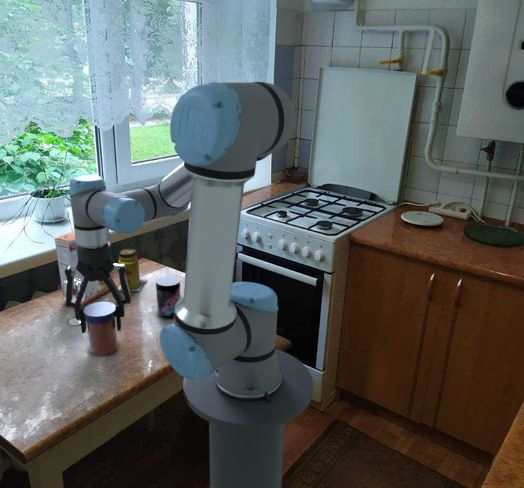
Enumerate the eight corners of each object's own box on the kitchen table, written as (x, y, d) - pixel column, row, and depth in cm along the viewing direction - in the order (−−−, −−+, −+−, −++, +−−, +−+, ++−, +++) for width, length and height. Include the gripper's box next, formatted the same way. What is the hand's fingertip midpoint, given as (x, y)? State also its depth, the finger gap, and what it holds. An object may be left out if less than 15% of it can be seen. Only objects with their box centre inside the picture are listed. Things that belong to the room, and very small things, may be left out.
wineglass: (93, 318, 138) (88, 279, 134) (77, 328, 133) (73, 288, 129) (77, 314, 140) (72, 275, 136) (61, 323, 135) (56, 283, 131)
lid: (118, 307, 126) (117, 300, 125) (115, 322, 118) (115, 315, 118) (86, 309, 124) (85, 302, 123) (81, 324, 117) (80, 317, 116)
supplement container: (156, 319, 139) (155, 286, 135) (157, 308, 145) (156, 276, 141) (181, 318, 140) (180, 285, 136) (181, 307, 146) (180, 275, 142)
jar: (122, 347, 125) (119, 310, 121) (100, 358, 120) (95, 320, 116) (107, 338, 129) (104, 302, 125) (84, 348, 124) (80, 311, 120)
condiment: (115, 290, 155) (112, 254, 151) (125, 279, 163) (122, 245, 159) (138, 291, 155) (136, 256, 150) (146, 280, 162) (144, 246, 158)
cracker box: (96, 286, 158) (90, 223, 150) (111, 290, 155) (105, 227, 147) (62, 303, 146) (53, 237, 138) (77, 308, 143) (69, 241, 136)
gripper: (139, 236, 120) (144, 318, 128) (49, 239, 116) (60, 324, 124) (138, 247, 113) (143, 333, 121) (42, 250, 109) (55, 340, 117)
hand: (101, 328), depth 123 cm, fingers closed on lid, 8 cm apart
